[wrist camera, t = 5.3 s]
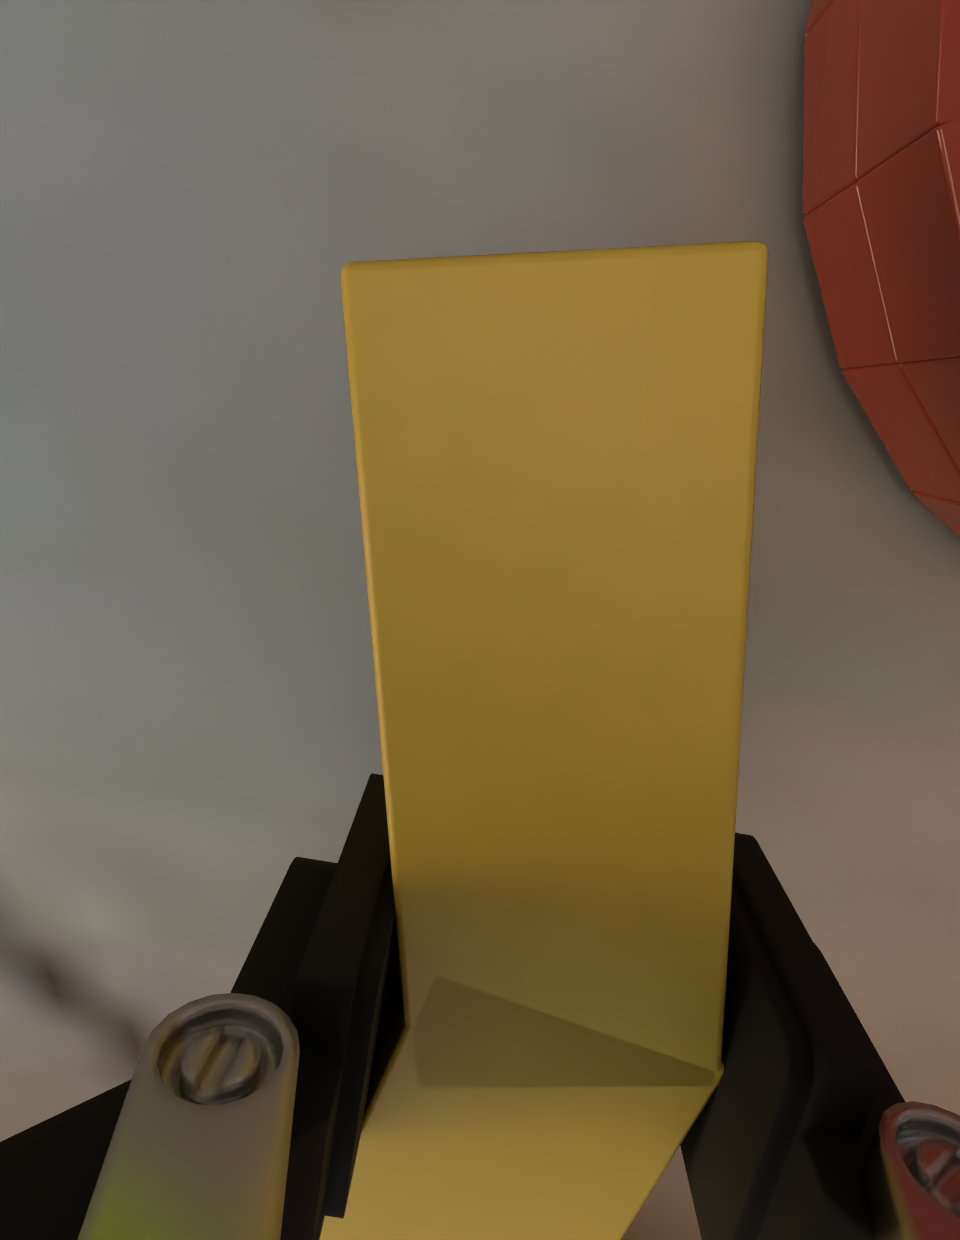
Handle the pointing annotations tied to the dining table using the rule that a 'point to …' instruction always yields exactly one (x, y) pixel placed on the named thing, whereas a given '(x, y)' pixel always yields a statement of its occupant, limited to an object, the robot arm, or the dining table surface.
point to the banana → (552, 718)
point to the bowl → (890, 222)
